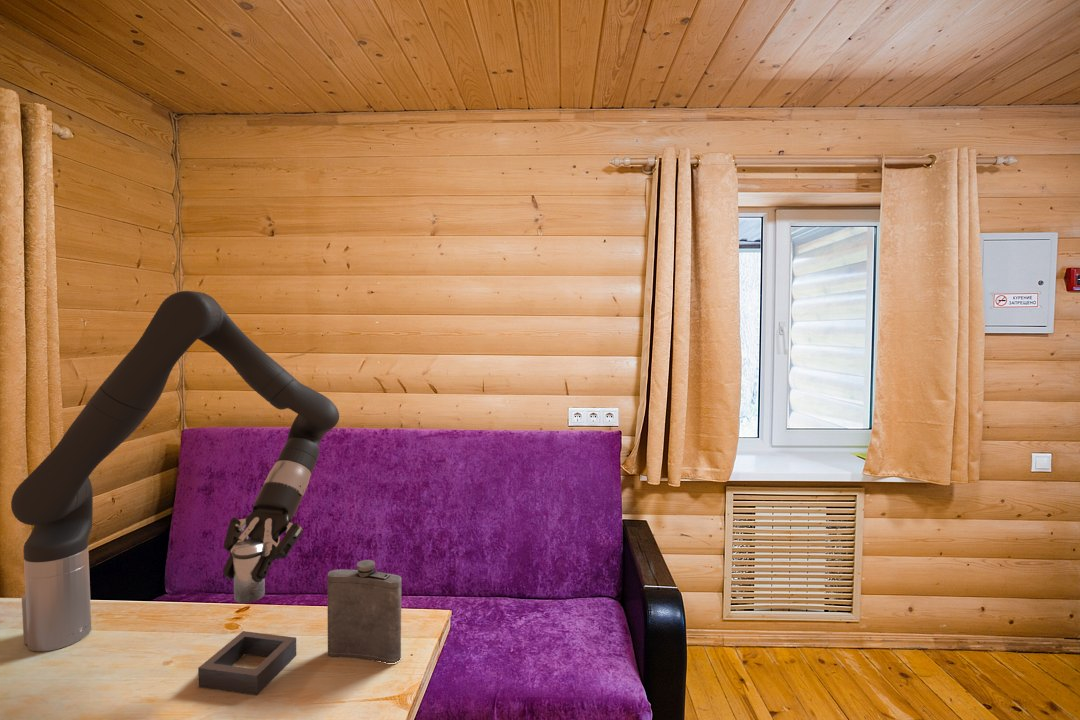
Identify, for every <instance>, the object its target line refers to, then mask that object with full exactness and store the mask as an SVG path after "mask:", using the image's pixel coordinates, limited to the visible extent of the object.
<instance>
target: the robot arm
mask: <svg viewBox="0 0 1080 720" xmlns="http://www.w3.org/2000/svg"><path fill="white" fill-rule="evenodd" d="M197 340H199V341H201V342H202V343H204V344H205V345H207V346H208V347H210V348H211V349H213V350H215V351H216V352H217V353H218V354H219V355H220V356H222V357H223V358H224V359H225V361H227V362H228V363H229V365H231V366H232V367H233V369H234V370H235V371H236V373H238V375H240V377H241V379H243V380H244V382H245V383H246V384H247V385H248V386H249V387H250V388H251V389H253V391H255V392H256V393H257V394H258V395H259V396H260V397H261V398H262V399H264V400H265V401H266V402H268V403H269V404H270V405H271V406H273V407H274V408H275V409H277V410H280V411H281V410H283V411H284V410H287V409H288V410H290V411H292V412H294V413H295V414H297V415H296V417H295V418H294V420H293V422H292V425H291V426H290V429H289V432H288V435H287V439H286V443H285V445H284V446H283V448H282V450H281V451H280V454H279V456H278V457H277V460H276V462H275V464H274V465H273V467H272V468H271V470H270V471H269V473H268V474H267V477H266V478H265V481H264V483H263V485H262V487H261V489H260V491H259V492H258V495H257V497H256V498H255V501H254V503H253V507H252V511H251V512H250V513H249V515H247V516H246V517H245V518H241V519H239V518H237V517H232V518H231V519H230V520H229V524H228V528H227V531H226V536H225V538H224V539H225V540H224V543H223V549H224V550H226V551H227V552H229V553H230V554H229V557H228V559H227V561H226V563H225V565H224V567H223V569H222V573H223V577H225V578H226V579H229V580H234V566H233V556H232V551H233V546H234V545H235V544H236V543H238V542H240V541H244V540H247V539H261V540H263V543H264V552H263V555H264V556H263V557H261V558H260V559H259V562H258V564H257V566H256V568H255V570H254V573H253V575H252V579H253V580H254V581H256V582H261V581H262V579H264V578H266V577H267V575H268V573H269V570H270V568H271V566H272V563H273V562H274V561H275V560H278V559H286V558H287V556H288V554H289V553H290V551H291V550H292V549H293V547H294V545H296V543H297V542H298V540H299V538H300V537H301V536H302V534H303V533H304V528H302V527H301V525H299V524H298V523H297V522H294V523H293V522H292V519H293V518H294V517H295V516H296V513H297V510H298V509H299V506H300V504H301V501H302V499H303V497H304V495H305V493H306V490H307V488H308V485H309V482H310V478H311V476H312V474H313V471H314V469H315V466H316V465H317V462H318V460H319V456H320V448H319V446H320V443H321V441H322V440H323V438H324V436H325V435H326V434H327V433H328V432H329V431H331V430H332V429H334V427H336V426H337V424H338V423H339V421H340V420H339V419H340V412H339V410H338V407H337V406H336V404H335V403H334V402H333V401H332V400H331V399H330V398H328V397H327V396H326V395H324V394H323V393H320V392H319V391H317V390H314V389H313V388H311V387H308V386H307V385H305V384H303V383H301V382H300V381H299V380H297V379H296V378H295V377H294V376H293V375H292V374H291V373H289V371H287V370H286V369H285V368H284V367H283V366H281V365H280V363H278V362H277V361H275V360H274V359H273V357H271V356H270V355H269V354H267V353H266V352H265V351H264V350H262V348H260V347H259V346H258V345H257V344H256V343H254V341H253V340H251V339H250V338H249V337H248V336H247V334H245V333H244V332H243V331H242V329H240V328H239V326H238V325H236V323H235V322H234V321H233V320H232V317H230V316H229V315H228V314H227V312H226V311H225V310H224V309H223V307H221V305H220V304H219V302H217V299H215V298H213V296H211V295H209V294H206V293H204V292H202V291H201V292H200V291H195V290H194V291H191V290H182V291H176V292H174V293H172V294H171V295H169V296H167V297H166V298H165V299H164V300H163V301H162V302H161V304H160V305H159V307H158V308H157V311H156V312H155V314H154V315H153V317H152V318H151V320H150V322H149V323H148V325H147V327H146V328H145V330H144V332H143V333H142V335H141V336H140V338H139V340H138V341H137V342H136V344H135V345H134V346H133V347H132V349H131V350H130V351H129V352H128V353H126V355H125V356H124V357H123V358H122V360H121V361H119V363H118V364H117V366H116V367H115V368H114V370H113V371H112V372H111V373H110V374H109V375H108V377H107V378H106V379H105V380H104V381H103V382H102V383H101V385H100V386H99V387H98V388H97V390H96V391H95V392H94V394H93V395H92V396H91V397H90V399H89V400H88V402H87V403H86V404H85V406H84V407H83V409H82V410H81V411H80V412H79V414H78V415H77V417H76V418H75V419H74V421H73V422H72V423H71V424H70V426H69V428H68V429H67V430H66V432H65V433H64V435H63V436H62V437H61V438H60V441H59V442H58V443H57V445H55V447H54V448H53V449H52V450H51V452H49V454H48V455H47V456H46V457H45V458H44V460H43V461H41V463H39V465H37V467H35V469H33V471H32V472H31V473H30V474H29V475H28V476H27V477H26V478H25V479H24V480H23V481H21V483H20V484H19V485H18V486H17V487H16V488H15V491H14V492H13V494H12V497H11V500H10V508H11V512H12V514H13V516H14V517H15V519H16V520H18V521H19V522H20V523H22V524H24V525H27V526H33V528H32V531H31V533H30V535H28V536H29V537H28V538H27V539H26V540H25V543H24V545H23V550H22V551H23V570H24V585H25V586H24V589H25V593H24V594H23V595H22V596H21V608H22V609H21V615H22V628H23V629H22V632H23V633H22V634H23V635H22V636H23V644H24V645H27V648H28V649H29V651H32V652H49V651H54V650H58V649H62V648H65V647H68V646H71V645H73V644H75V643H77V642H79V641H81V640H82V639H84V638H85V637H87V636H88V635H89V634H90V633H91V630H92V610H91V609H92V604H91V585H90V584H91V581H90V579H91V578H90V559H89V558H90V556H89V555H90V554H89V538H90V534H91V531H92V527H93V512H94V510H93V508H94V504H93V503H94V502H93V501H94V500H93V499H94V498H93V497H94V495H93V485H92V482H91V479H90V478H89V477H90V475H91V474H92V473H93V471H95V469H96V468H97V466H99V465H100V464H101V463H102V462H103V461H104V460H105V459H106V458H107V457H108V456H109V455H111V454H112V453H113V452H114V451H115V450H116V449H117V448H118V447H119V446H120V445H121V444H123V443H124V442H125V440H127V439H128V438H129V437H130V436H131V435H132V434H133V433H134V432H135V431H136V429H138V428H139V427H140V425H141V424H142V423H143V421H144V420H146V417H147V416H148V415H149V413H150V412H151V411H152V410H153V409H154V407H155V406H156V404H157V403H158V402H159V400H160V398H161V395H162V394H163V392H164V389H165V387H166V385H167V382H168V380H169V377H170V375H171V372H172V370H173V369H174V367H175V365H176V364H177V362H178V361H179V360H180V359H181V357H182V356H183V355H184V354H185V353H186V352H187V351H188V350H189V348H190V347H191V346H192V345H193V344H194V343H195V342H197ZM284 533H285V534H284ZM283 534H284V536H282V535H283ZM281 536H282V539H281V538H280V537H281ZM280 539H281V540H280ZM89 632H90V633H89Z"/></svg>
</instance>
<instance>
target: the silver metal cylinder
mask: <svg viewBox="0 0 1080 720" xmlns="http://www.w3.org/2000/svg"><path fill="white" fill-rule="evenodd" d="M263 552H264V543H263V540H261V539H251V538H248V539H247V540H244V541H240V542H238V543H236V544H235V545H234V546H233V551H232V556H233V566H234V578H233V600H234V602H236V603H238V604H248V603H253V602H256V601H258V600H261V599H262V598H264V596H265V594H266V584H265V581H266V580H265V578H266V577H265V578H264V579H262V581H261V582H256V581H254V580H253V579H252V575H253V573H254V570H255V568H256V566H257V564H258V562H259V559H260V558H261V557H263V556H264V555H263Z"/></svg>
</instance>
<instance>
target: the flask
mask: <svg viewBox="0 0 1080 720" xmlns="http://www.w3.org/2000/svg"><path fill="white" fill-rule="evenodd" d="M375 567H376V561H374V560H372V559H362V560H361V561H357V563H356V569H333V570H330V571H329V572H327V578H326V579H327V657H329V658H332V659H335V658H337V659H339V658H341V659H343V658H344V659H357V660H364V661H365V660H366V661H371V660H373V661H372V662H377V661H381V662H386V663H395V662H397V661H399V660H400V658H401V659H402V576H400V575H396V574H393V573H387V572H382V571H377V570H375ZM400 661H401V660H400ZM381 662H380V663H381Z"/></svg>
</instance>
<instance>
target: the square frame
mask: <svg viewBox="0 0 1080 720" xmlns="http://www.w3.org/2000/svg"><path fill="white" fill-rule="evenodd" d="M245 655H247V656H248V655H249V656H256V657H264V658H265V659H264V660H263V661H262V662H260V663H259V665H258V666H257V667H255V668H250V667H243V666H242V667H241V666H234V665H235V664H236V663H237V662H238V661H239V660H241V659H242V658H243V657H244V656H245ZM296 657H297V637H295V636H286V635H278V634H269V633H260V632H252V631H245V630H242V632H240V633H239V634H238V635H236V636H235V637H234V638H233V639H232V640H231V641H229V642H228V643H226V644H225V645H224V646H223V647H222V648H221V649H219V650H218V651H217V652H215V654H214V655H212V656H211V657H210V658H208V659H207V660H206V661H205V662H203V663H202V664H201V665H199V666H198V667H197V669H198V670H197V671H198V672H197V673H198V675H197V676H198V677H197V678H198V688H201V689H208V690H215V691H222V692H230V693H236V694H243V695H249V696H258V695H259V694H261V693H262V692H263V690H264V689H265V688H267V686H268V685H269V684H270V683H271V682H272V681H273V680H274V679H275V678H276V677H277V676H278V675H279V674H280V673H281V672H282V671H283V670H284V669H285V668H286V667H287V665H288V664H290V662H292V661H293V660H294V658H296Z"/></svg>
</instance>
